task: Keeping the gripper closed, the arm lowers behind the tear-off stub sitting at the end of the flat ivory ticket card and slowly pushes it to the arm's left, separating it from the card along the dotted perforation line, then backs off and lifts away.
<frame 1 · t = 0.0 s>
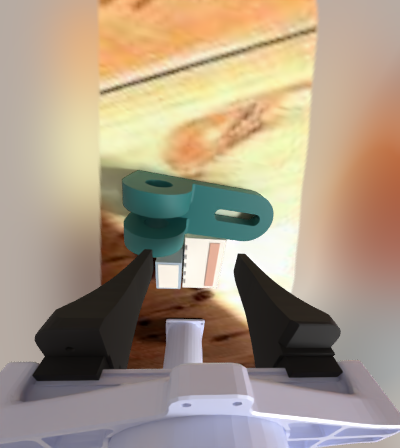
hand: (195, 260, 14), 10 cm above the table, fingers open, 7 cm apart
stub: (170, 267, 24), point 2 cm above the table, slide at 0.0 cm
ticket: (202, 260, 27), on the table
bracket: (204, 206, 23), on the table
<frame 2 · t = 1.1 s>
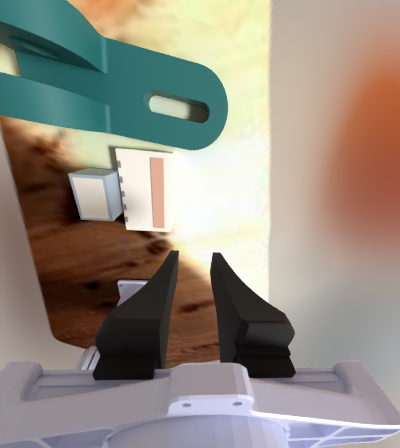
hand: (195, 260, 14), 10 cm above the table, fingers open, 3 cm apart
stub: (100, 194, 19), point 2 cm above the table, slide at 0.0 cm
ticket: (149, 192, 21), on the table
bracket: (138, 101, 17), on the table
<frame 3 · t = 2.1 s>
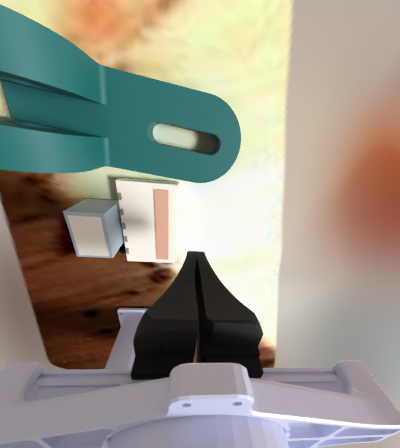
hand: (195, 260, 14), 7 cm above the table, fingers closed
stub: (99, 227, 17), point 2 cm above the table, slide at 0.0 cm
ticket: (152, 222, 19), on the table
bracket: (141, 129, 15), on the table
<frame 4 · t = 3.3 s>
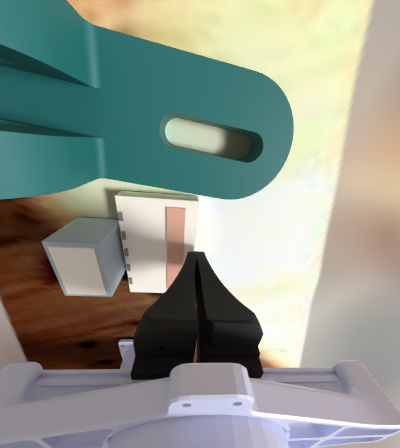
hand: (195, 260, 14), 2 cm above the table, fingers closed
stub: (93, 256, 13), point 2 cm above the table, slide at 0.0 cm
ticket: (161, 245, 15), on the table
bracket: (149, 126, 11), on the table
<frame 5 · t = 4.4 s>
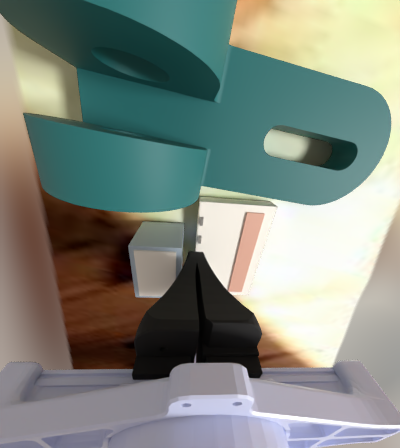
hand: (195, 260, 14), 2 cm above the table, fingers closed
stub: (160, 259, 13), point 2 cm above the table, slide at 0.8 cm, touching gripper
ticket: (226, 248, 16), on the table
bracket: (236, 135, 11), on the table
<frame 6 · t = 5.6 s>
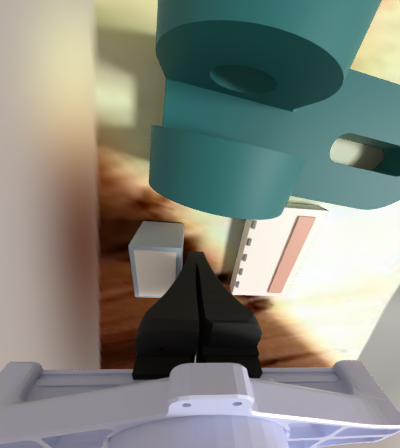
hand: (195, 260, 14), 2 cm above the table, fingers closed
stub: (160, 259, 13), point 2 cm above the table, slide at 5.1 cm, touching gripper
ticket: (268, 250, 16), on the table
bracket: (292, 141, 12), on the table
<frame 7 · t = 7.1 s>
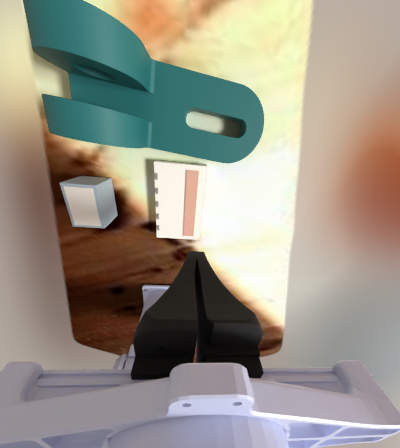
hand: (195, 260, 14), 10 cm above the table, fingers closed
stub: (92, 201, 19), point 2 cm above the table, slide at 5.1 cm
ticket: (180, 202, 21), on the table
bracket: (175, 116, 17), on the table
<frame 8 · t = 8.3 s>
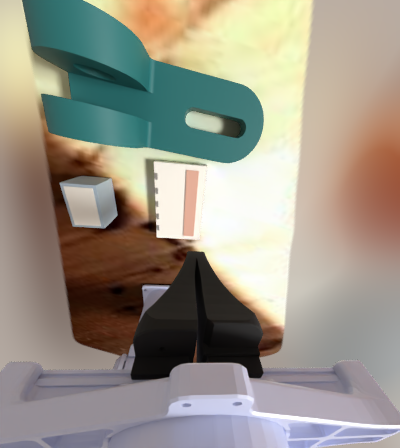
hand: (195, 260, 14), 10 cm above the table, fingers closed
stub: (92, 201, 19), point 2 cm above the table, slide at 5.1 cm
ticket: (180, 202, 21), on the table
bracket: (175, 116, 17), on the table
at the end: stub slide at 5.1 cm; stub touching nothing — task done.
